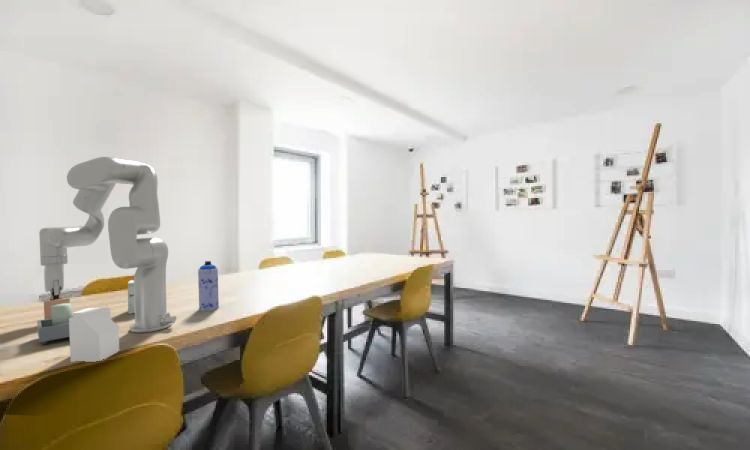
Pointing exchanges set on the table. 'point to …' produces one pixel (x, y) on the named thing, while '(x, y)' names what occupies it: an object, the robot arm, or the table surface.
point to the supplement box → (131, 297)
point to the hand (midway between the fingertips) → (56, 308)
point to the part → (61, 313)
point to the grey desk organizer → (45, 326)
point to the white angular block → (92, 335)
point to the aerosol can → (208, 287)
